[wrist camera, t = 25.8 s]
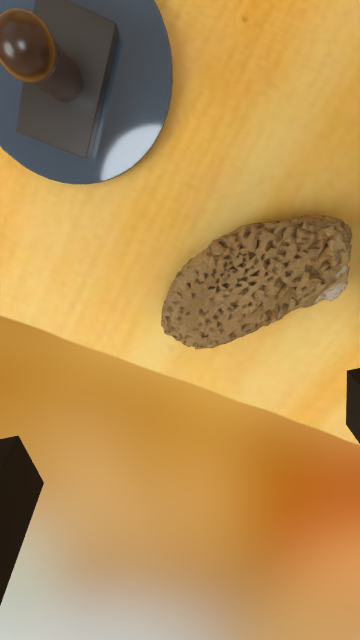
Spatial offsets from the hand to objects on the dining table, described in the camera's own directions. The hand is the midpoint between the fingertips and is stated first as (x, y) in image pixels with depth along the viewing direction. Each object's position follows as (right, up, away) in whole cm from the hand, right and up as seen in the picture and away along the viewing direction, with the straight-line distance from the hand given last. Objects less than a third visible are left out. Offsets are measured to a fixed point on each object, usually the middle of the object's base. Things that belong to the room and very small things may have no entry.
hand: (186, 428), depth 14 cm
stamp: (-10, +25, +16) cm, 31 cm away
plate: (-10, +26, +17) cm, 33 cm away
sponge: (+7, +10, +26) cm, 28 cm away
